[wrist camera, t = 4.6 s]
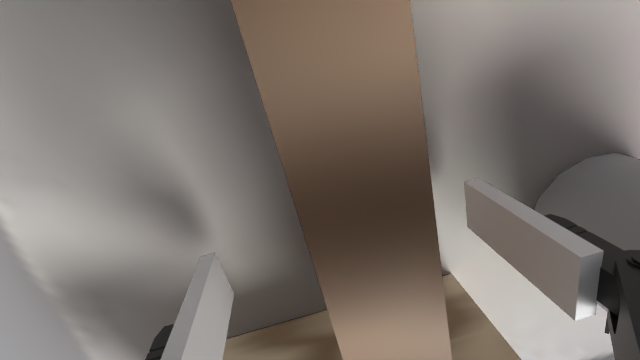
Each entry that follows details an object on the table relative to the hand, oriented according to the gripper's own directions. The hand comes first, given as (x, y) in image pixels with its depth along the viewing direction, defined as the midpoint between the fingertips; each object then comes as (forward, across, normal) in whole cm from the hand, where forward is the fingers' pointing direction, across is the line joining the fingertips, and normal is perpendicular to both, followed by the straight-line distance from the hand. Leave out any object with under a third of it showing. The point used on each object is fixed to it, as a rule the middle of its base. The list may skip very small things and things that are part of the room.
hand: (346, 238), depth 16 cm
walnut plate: (+2, 0, +6) cm, 6 cm away
